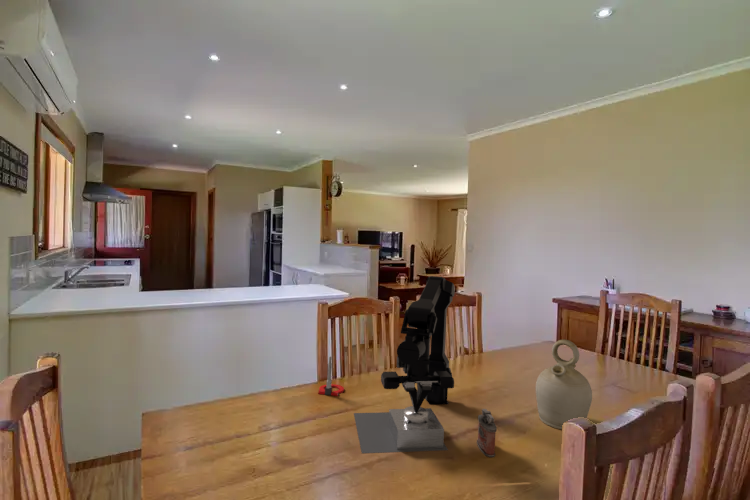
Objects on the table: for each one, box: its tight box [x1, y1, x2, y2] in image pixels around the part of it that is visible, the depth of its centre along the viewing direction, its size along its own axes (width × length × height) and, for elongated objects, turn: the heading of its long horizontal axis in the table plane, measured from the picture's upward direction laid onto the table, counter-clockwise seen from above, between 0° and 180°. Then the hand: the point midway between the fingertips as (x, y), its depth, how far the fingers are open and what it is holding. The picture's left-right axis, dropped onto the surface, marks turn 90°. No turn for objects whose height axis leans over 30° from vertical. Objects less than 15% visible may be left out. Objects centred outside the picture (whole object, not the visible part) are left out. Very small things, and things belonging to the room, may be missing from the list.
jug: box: [535, 339, 593, 431], centre depth 122 cm, size 15×16×25 cm
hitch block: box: [388, 407, 445, 450], centre depth 109 cm, size 12×12×5 cm
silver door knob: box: [403, 405, 428, 424], centre depth 109 cm, size 6×6×6 cm
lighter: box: [476, 408, 498, 458], centre depth 104 cm, size 8×3×10 cm, turn 5°
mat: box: [353, 411, 449, 454], centre depth 112 cm, size 22×22×1 cm
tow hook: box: [318, 356, 345, 397], centre depth 138 cm, size 8×13×9 cm
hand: (415, 411), depth 109 cm, fingers closed, pressing on silver door knob
